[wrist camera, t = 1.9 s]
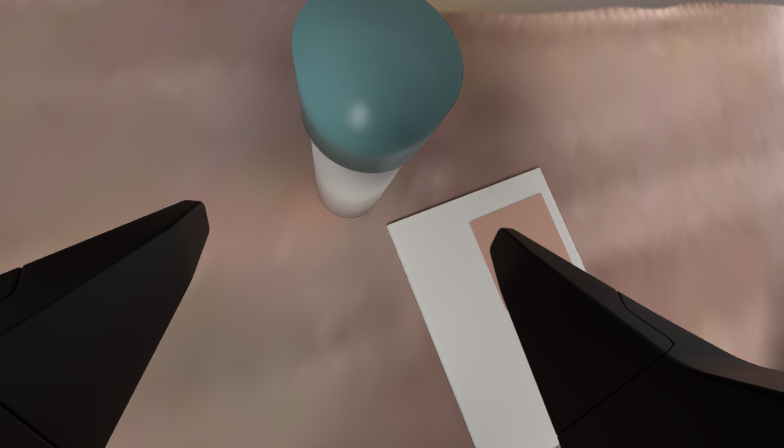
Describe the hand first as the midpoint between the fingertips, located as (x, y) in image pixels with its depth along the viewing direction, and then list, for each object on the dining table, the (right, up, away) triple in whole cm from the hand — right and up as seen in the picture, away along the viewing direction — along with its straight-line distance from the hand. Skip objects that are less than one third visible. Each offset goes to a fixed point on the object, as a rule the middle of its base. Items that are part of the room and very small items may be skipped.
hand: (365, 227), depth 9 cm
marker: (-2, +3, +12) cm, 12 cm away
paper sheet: (+10, -6, +13) cm, 18 cm away
